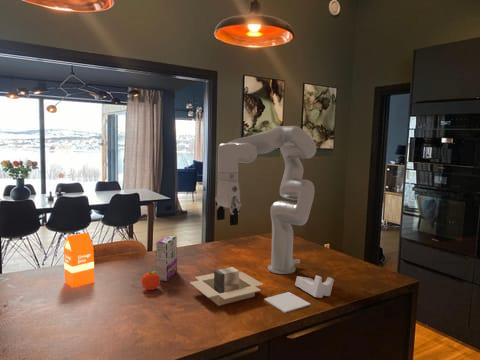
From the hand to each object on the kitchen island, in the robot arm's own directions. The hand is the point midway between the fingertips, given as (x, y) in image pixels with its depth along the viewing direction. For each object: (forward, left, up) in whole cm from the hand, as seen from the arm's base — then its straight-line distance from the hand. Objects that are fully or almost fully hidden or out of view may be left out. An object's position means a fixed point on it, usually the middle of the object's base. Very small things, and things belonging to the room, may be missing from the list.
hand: (227, 222), depth 140 cm
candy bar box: (+13, -28, -28) cm, 42 cm away
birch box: (0, 0, -28) cm, 28 cm away
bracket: (-31, +15, -28) cm, 45 cm away
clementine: (+23, -18, -28) cm, 40 cm away
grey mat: (-15, +18, -28) cm, 36 cm away
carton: (0, 0, -28) cm, 28 cm away
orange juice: (+46, -39, -28) cm, 66 cm away
